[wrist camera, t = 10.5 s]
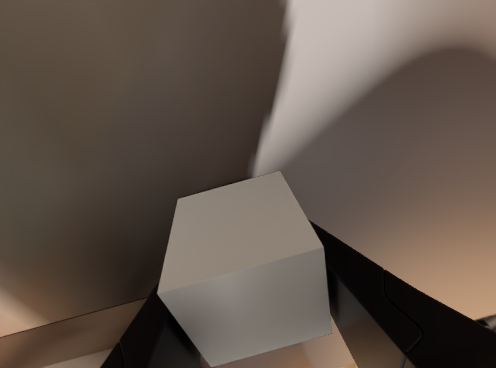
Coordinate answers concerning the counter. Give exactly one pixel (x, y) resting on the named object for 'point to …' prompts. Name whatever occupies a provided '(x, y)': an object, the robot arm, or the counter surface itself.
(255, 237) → the cream block
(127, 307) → the walnut base
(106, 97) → the counter surface
